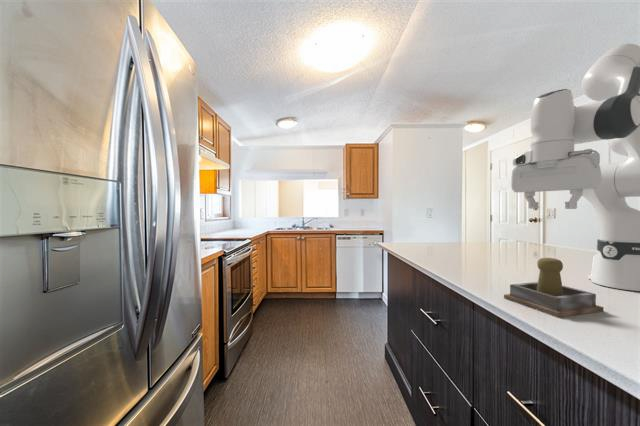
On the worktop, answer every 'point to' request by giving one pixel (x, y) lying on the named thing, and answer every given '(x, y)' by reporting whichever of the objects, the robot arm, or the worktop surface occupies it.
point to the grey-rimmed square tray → (554, 300)
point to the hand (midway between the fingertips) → (551, 208)
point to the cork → (550, 276)
